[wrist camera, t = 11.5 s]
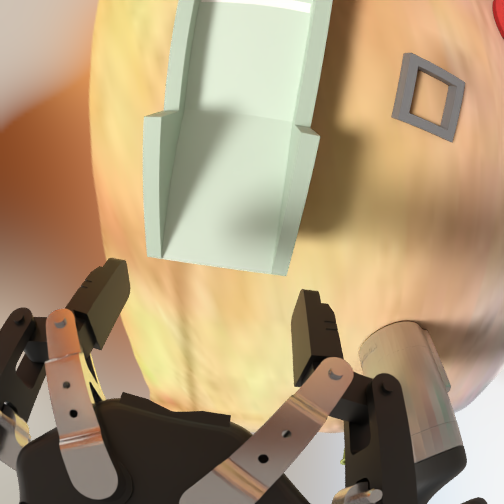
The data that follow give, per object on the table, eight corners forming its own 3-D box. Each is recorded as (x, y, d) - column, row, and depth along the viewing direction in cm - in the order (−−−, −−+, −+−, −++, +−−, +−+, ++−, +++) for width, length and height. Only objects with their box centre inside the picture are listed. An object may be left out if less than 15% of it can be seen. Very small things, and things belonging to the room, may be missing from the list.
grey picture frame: (456, 81, 14) (465, 82, 13) (444, 139, 17) (452, 142, 16) (403, 53, 14) (410, 52, 13) (391, 117, 17) (398, 119, 16)
